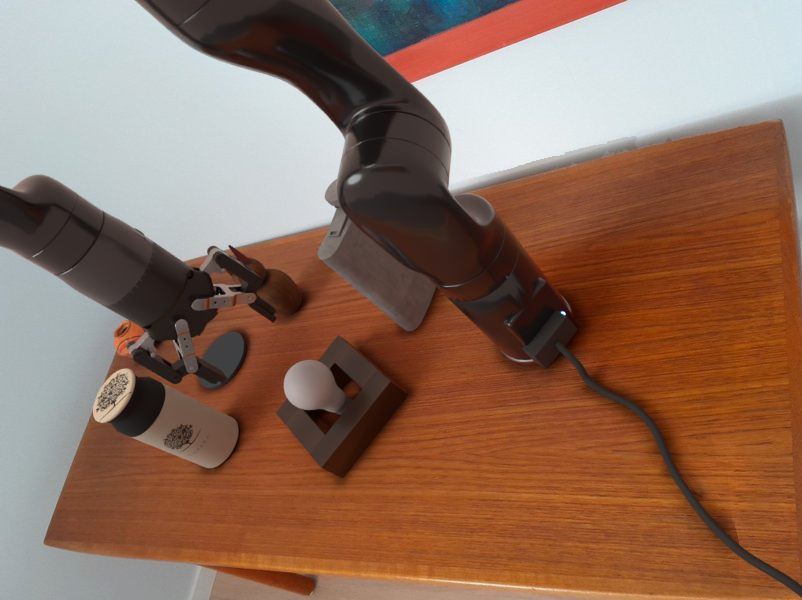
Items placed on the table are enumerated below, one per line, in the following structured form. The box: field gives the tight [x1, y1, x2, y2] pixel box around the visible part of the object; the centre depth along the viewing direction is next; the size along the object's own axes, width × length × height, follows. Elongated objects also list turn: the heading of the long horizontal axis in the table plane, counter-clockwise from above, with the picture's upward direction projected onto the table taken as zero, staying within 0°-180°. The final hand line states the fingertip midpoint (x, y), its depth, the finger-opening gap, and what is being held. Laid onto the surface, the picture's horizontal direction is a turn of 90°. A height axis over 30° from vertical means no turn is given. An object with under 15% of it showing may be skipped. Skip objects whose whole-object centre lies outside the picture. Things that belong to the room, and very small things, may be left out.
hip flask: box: [317, 178, 437, 332], centre depth 83 cm, size 16×4×20 cm, turn 164°
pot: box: [113, 319, 146, 359], centre depth 119 cm, size 8×8×7 cm
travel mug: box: [92, 367, 239, 469], centre depth 91 cm, size 8×8×18 cm
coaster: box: [198, 331, 248, 390], centre depth 107 cm, size 10×10×1 cm
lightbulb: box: [283, 359, 354, 416], centre depth 83 cm, size 6×6×11 cm
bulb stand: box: [275, 334, 410, 479], centre depth 85 cm, size 13×13×4 cm
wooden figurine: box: [226, 244, 303, 317], centre depth 99 cm, size 7×6×15 cm
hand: (247, 347), depth 74 cm, fingers open, 8 cm apart
